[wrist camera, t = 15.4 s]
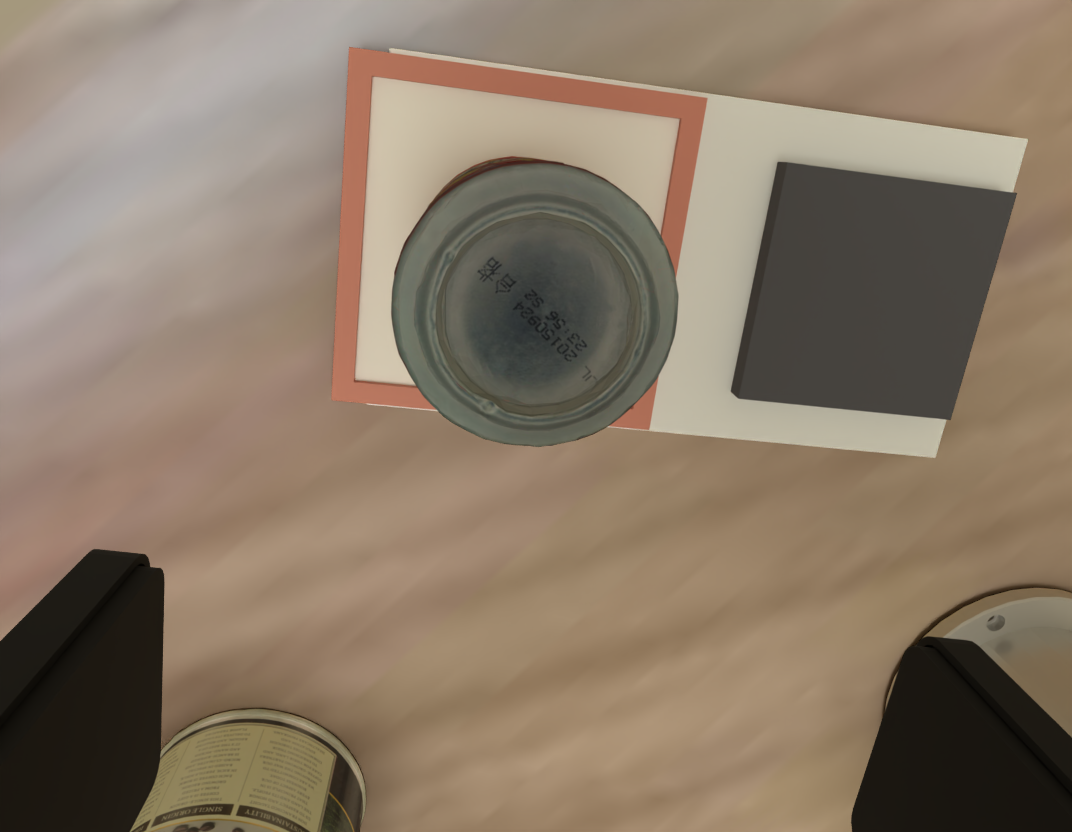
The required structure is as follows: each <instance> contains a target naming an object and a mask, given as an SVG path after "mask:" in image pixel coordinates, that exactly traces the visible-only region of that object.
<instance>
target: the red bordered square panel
mask: <svg viewBox="0 0 1072 832" xmlns="http://www.w3.org/2000/svg"><path fill="white" fill-rule="evenodd" d="M707 99H708V98H704V97H697V96H690V95H683V94H676V93H669V92H662V91H655V90H648V89H641V88H634V87H627V86H620V85H613V84H606V83H599V82H592V81H585V80H578V79H571V78H564V77H557V76H549V75H542V74H535V73H528V72H521V71H514V70H507V69H500V68H493V67H486V66H479V65H472V64H465V63H458V62H451V61H444V60H437V59H430V58H423V57H416V56H409V55H402V54H395V53H388V52H381V51H374V50H367V49H360V48H353V47H349V61H348V81H347V101H346V121H345V141H344V161H343V180H342V200H341V220H340V240H339V260H338V279H337V299H336V319H335V339H334V359H333V378H332V398H331V400H335V401H346V402H357V403H367V404H378V405H389V406H399V407H410V408H420V409H431V410H436V409H435V408H434V407H433V406H432V405H431V404H430V403H429V402H428V401H427V400H426V399H425V398H424V396H423V395H422V394H421V392H420V391H419V389H418V388H417V386H416V385H415V383H414V382H413V380H412V378H411V377H410V375H409V373H408V371H407V369H406V367H405V365H404V363H403V361H402V360H401V358H400V356H399V353H398V350H397V346H396V342H395V337H394V331H393V326H392V318H391V302H392V287H393V281H394V271H395V268H396V265H397V262H398V259H399V256H400V253H401V250H402V247H403V245H404V242H405V241H406V239H407V237H408V236H409V234H410V233H411V231H412V230H413V228H414V227H415V225H416V224H417V222H418V221H419V219H420V218H421V216H422V215H423V213H424V212H425V210H426V209H427V207H428V206H429V204H430V203H431V202H432V201H433V199H434V198H435V197H436V195H437V194H438V193H439V192H440V191H441V190H442V188H443V187H444V186H445V185H446V184H448V183H449V182H450V181H451V180H452V179H453V178H454V177H455V176H457V175H458V174H460V173H461V172H463V171H465V170H467V169H468V168H470V167H472V166H474V165H476V164H479V163H482V162H485V161H488V160H491V159H497V158H503V157H510V156H516V157H529V158H535V159H542V160H547V161H556V162H563V163H564V164H567V165H571V166H575V167H579V168H583V169H586V170H588V171H590V172H592V173H594V174H597V175H599V176H601V177H603V178H605V179H606V180H608V181H609V182H611V183H612V184H614V185H615V186H617V187H618V188H619V189H621V190H622V191H623V192H624V193H626V194H627V195H628V196H629V197H631V198H632V199H633V200H634V201H636V202H637V203H638V204H639V205H640V206H641V207H642V209H643V210H644V211H645V212H646V213H647V214H648V215H649V217H650V218H651V220H652V221H653V223H654V225H655V226H656V228H657V229H658V231H659V233H660V235H661V237H662V238H663V241H664V243H665V245H666V247H667V249H668V252H669V255H670V258H671V261H672V263H673V266H674V271H675V277H676V275H677V269H678V264H679V258H680V252H681V247H682V241H683V235H684V230H685V224H686V218H687V213H688V207H689V201H690V196H691V190H692V184H693V179H694V173H695V167H696V162H697V156H698V150H699V145H700V139H701V133H702V128H703V122H704V116H705V110H706V105H707ZM658 377H659V376H658ZM657 383H658V378H657V380H656V381H655V382H654V384H653V385H652V386H651V388H650V389H649V390H648V391H647V392H646V393H645V394H644V395H643V396H642V397H641V398H640V399H639V401H638V402H637V403H636V404H635V405H634V406H632V407H631V408H630V409H629V410H628V411H627V412H626V413H625V414H624V415H623V416H622V417H620V418H619V419H618V420H617V421H615V422H614V423H612V424H611V425H609V426H612V427H622V428H633V429H644V430H649V428H650V423H651V417H652V411H653V406H654V400H655V394H656V389H657Z"/></svg>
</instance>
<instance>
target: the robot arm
mask: <svg viewBox="0 0 1072 832" xmlns="http://www.w3.org/2000/svg"><path fill="white" fill-rule="evenodd" d="M163 623H164V573H163V570H162V569H161V568H153V567H150V563H149V559H148V557H147V556H146V555H145V554H138V553H128V552H119V551H109V550H100V549H93V550H92V551H90V552H89V553H88V554H87V555H86V556H85V557H84V558H83V559H82V560H81V561H80V562H79V563H78V564H77V565H76V566H75V567H74V568H73V569H72V570H71V571H70V572H69V573H68V574H67V575H66V576H65V577H64V578H63V579H62V580H61V581H60V582H59V583H58V584H57V585H56V586H55V587H54V588H53V589H52V590H51V591H50V592H49V593H48V594H47V595H46V596H45V597H44V598H43V599H42V600H41V601H40V602H39V603H38V604H37V605H36V606H35V607H34V608H33V609H32V610H31V611H30V612H29V613H28V614H27V615H26V616H25V617H24V618H23V619H22V620H21V621H20V622H19V623H18V624H17V625H16V626H15V627H14V628H13V629H12V630H11V631H10V632H9V633H8V634H7V635H6V636H5V637H4V638H3V639H2V640H1V641H0V832H130V831H131V829H132V827H133V825H134V823H135V821H136V819H137V817H138V815H139V813H140V811H141V809H142V808H143V806H144V804H145V802H146V800H147V798H148V796H149V794H150V792H151V790H152V788H153V786H154V783H155V780H156V777H157V773H158V769H159V764H160V755H161V713H162V668H163ZM851 824H852V832H1072V593H1070V592H1067V591H1063V590H1059V589H1047V588H1028V589H1018V590H1010V591H1006V592H1003V593H999V594H995V595H992V596H988V597H985V598H983V599H981V600H979V601H976V602H974V603H972V604H970V605H967V606H965V607H963V608H961V609H960V610H958V611H957V612H955V613H953V614H952V615H950V616H949V617H947V618H946V619H944V620H942V621H941V622H940V623H939V624H938V625H936V626H935V627H934V628H933V629H932V630H931V631H930V632H928V633H927V634H926V635H925V636H924V637H923V638H922V639H921V640H920V641H919V642H918V643H917V644H916V646H911V647H909V648H908V649H907V650H906V651H905V653H904V656H903V658H902V661H901V664H900V667H899V670H898V672H897V674H896V675H895V677H894V679H893V682H892V685H891V688H890V691H889V694H888V696H887V700H886V708H885V713H884V716H883V719H882V722H881V725H880V728H879V731H878V734H877V737H876V740H875V743H874V747H873V750H872V753H871V756H870V759H869V762H868V765H867V768H866V771H865V774H864V777H863V780H862V783H861V786H860V789H859V792H858V795H857V798H856V801H855V805H854V808H853V812H852V820H851Z"/></svg>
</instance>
